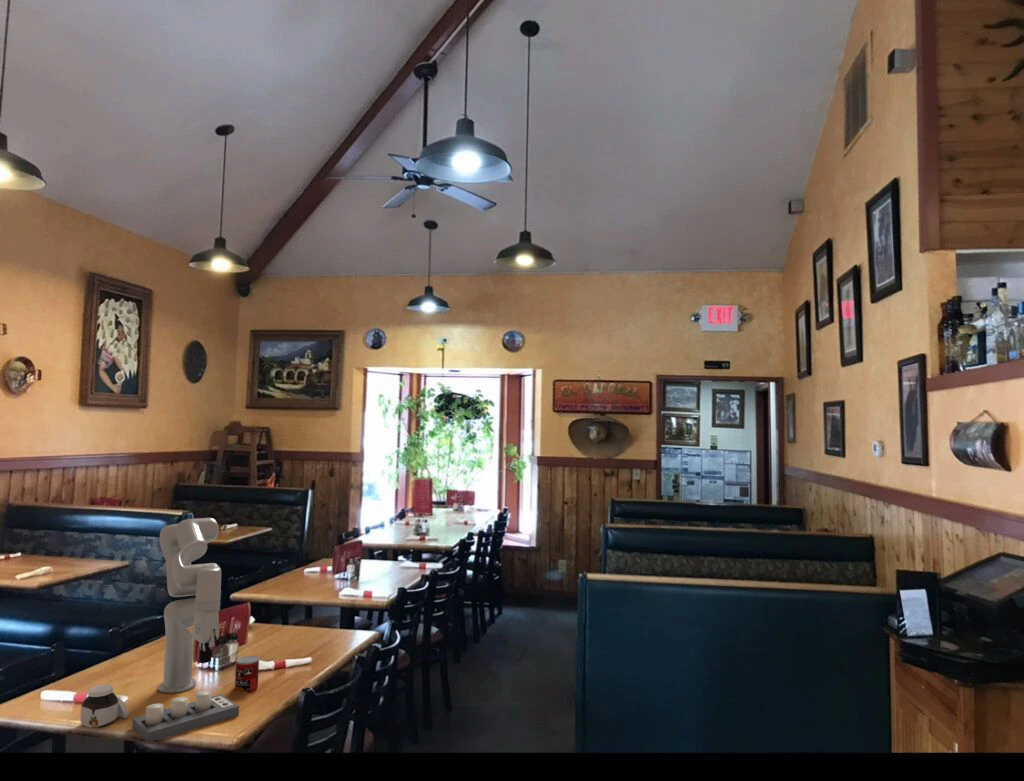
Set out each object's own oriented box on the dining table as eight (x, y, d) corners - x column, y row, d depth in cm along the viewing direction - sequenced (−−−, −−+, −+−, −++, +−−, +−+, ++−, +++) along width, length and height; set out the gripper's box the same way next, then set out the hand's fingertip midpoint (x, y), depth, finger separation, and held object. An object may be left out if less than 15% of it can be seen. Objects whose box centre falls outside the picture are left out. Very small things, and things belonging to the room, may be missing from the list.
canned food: (230, 691, 243) (231, 661, 244) (246, 684, 250) (247, 654, 251) (246, 695, 240) (247, 664, 241) (262, 687, 247) (263, 657, 248)
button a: (192, 709, 219) (193, 693, 219) (207, 704, 223) (207, 689, 223) (198, 713, 216) (199, 697, 216) (213, 709, 219) (213, 693, 220)
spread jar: (75, 729, 211) (77, 691, 211) (102, 714, 222) (104, 679, 223) (108, 733, 209) (110, 694, 209) (134, 718, 220) (136, 681, 220)
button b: (168, 715, 214) (169, 699, 214) (183, 711, 217) (184, 695, 217) (173, 720, 210) (174, 704, 211) (189, 715, 214) (190, 700, 214)
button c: (142, 722, 208) (143, 706, 208) (159, 718, 212) (160, 702, 212) (148, 727, 205) (149, 711, 205) (164, 723, 208) (165, 706, 209)
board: (131, 731, 210) (132, 717, 210) (220, 706, 230) (221, 693, 231) (147, 746, 200) (148, 731, 201) (238, 718, 221) (239, 704, 221)
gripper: (187, 603, 224) (184, 659, 222) (205, 611, 214) (202, 670, 212) (209, 599, 229) (207, 654, 228) (228, 607, 219) (226, 664, 218)
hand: (205, 661), depth 220 cm, fingers closed
